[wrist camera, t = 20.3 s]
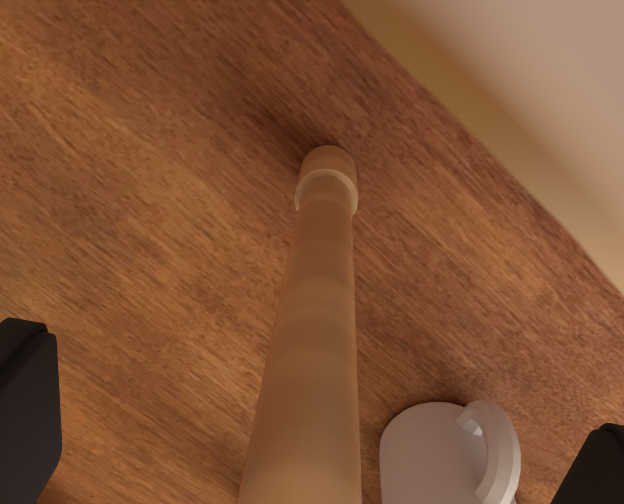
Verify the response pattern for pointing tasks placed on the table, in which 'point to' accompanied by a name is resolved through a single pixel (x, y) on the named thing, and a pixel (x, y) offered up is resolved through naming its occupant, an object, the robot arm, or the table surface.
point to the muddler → (312, 353)
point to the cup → (450, 455)
